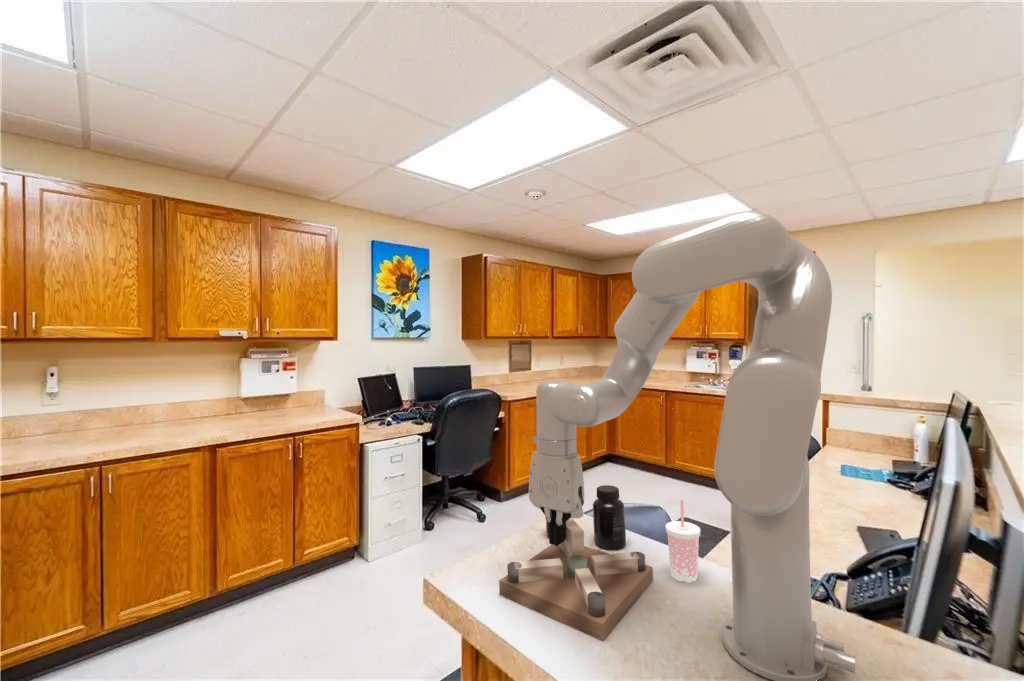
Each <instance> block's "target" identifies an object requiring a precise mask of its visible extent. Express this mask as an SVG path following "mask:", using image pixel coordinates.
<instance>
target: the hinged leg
mask: <svg viewBox="0 0 1024 681" xmlns="http://www.w3.org/2000/svg"><path fill="white" fill-rule="evenodd" d="M584 531H585V530H584V529H583V528H582V527H581V526H580V525H579V524H578V523H577V522H576V521H575V519H574V518H570V519H569V520H568V521H566V539H565V541H564V542H562V543H561V544H560V545H558V546H559V547H560V548H561V550H562V551H563V552H564V554H565V555H566V556H567V558H568V557H570V556H574V555H579V556H583V557H584V546H585V532H584Z"/></svg>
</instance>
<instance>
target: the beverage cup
mask: <svg viewBox="0 0 1024 681" xmlns="http://www.w3.org/2000/svg"><path fill="white" fill-rule="evenodd" d="M684 513H685V512H684V500H682V499H680V520H672V521H669V522H667V523H666V524H665V525H664V526H665V532H666V533H667V543H668V553H669V554H668V555H669V556H668V557H669V566H670V574H671V577H672V578H675V579H674V580H675V581H676V580H677V581H678V580H679V582H682V581H686V582H685V583H691V582H690V581H694V580H696V579H698V574H699V573H698V570H699V546H700V545H699V542H700V536H701V532H702V531H701V527H700V526H698V525H697V524H694V523H692V522H688V521H685V517H684V516H685V515H684ZM696 581H697V580H696ZM694 582H695V581H694Z"/></svg>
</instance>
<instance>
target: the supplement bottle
mask: <svg viewBox="0 0 1024 681" xmlns="http://www.w3.org/2000/svg"><path fill="white" fill-rule="evenodd" d="M625 514H626V512H625V504H624V502H623V501H622V500H621V499H620V490H619V487H617V486H615V485H610V484H609V485H605V484H603V485H600V486H598V487H596V499H595V500H594V501H593V503H592V519H593V522H592V523H593V541H594V543H595V545H596V546H597V547H599V549H600V548H601V549H603V550H608V551H613V550H614V551H615V550H620V549H622V548H624V547H625V546H626V544H627V538H626V537H627V536H626V535H627V534H626V516H625Z"/></svg>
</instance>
